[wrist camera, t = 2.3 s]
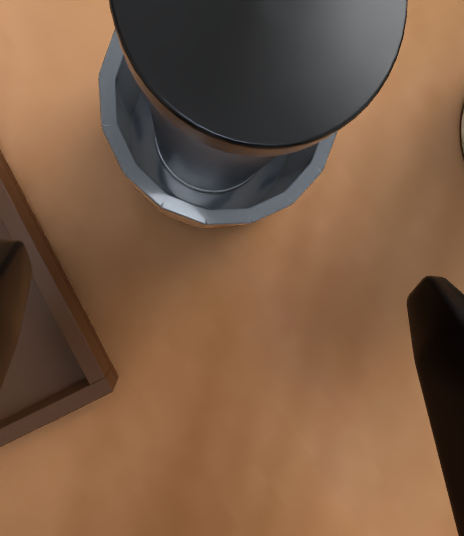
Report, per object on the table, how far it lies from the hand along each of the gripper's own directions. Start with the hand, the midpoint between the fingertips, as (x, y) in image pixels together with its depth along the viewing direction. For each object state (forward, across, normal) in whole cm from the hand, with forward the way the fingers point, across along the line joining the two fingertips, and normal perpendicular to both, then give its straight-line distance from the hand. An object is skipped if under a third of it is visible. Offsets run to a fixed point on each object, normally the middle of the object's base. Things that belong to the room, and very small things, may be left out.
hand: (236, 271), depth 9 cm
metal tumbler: (+12, 0, +4) cm, 13 cm away
